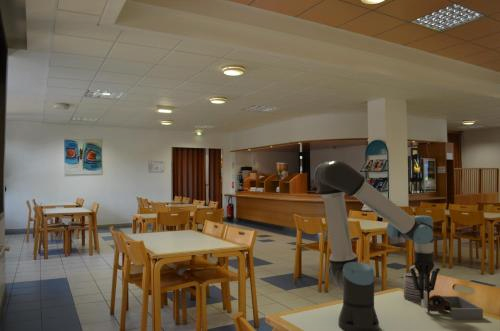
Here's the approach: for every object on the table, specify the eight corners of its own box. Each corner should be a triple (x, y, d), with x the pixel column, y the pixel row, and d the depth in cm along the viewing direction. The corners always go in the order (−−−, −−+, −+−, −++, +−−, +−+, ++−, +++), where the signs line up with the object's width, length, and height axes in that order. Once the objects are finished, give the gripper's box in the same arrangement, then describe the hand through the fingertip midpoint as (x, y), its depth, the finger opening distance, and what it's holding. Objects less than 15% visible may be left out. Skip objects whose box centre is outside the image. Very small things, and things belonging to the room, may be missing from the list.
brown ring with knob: (458, 317, 164) (450, 301, 162) (436, 326, 165) (428, 310, 164) (445, 301, 175) (438, 286, 174) (425, 309, 177) (418, 294, 175)
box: (452, 319, 161) (452, 309, 161) (431, 304, 179) (431, 296, 179) (482, 319, 161) (482, 309, 161) (458, 305, 179) (458, 296, 179)
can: (406, 301, 183) (406, 275, 184) (401, 294, 195) (401, 270, 195) (432, 303, 181) (432, 277, 182) (426, 296, 192) (425, 271, 193)
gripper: (434, 249, 175) (435, 303, 174) (405, 250, 174) (405, 303, 174) (443, 253, 167) (443, 309, 166) (412, 253, 167) (413, 309, 166)
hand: (424, 306), depth 170 cm, fingers closed
